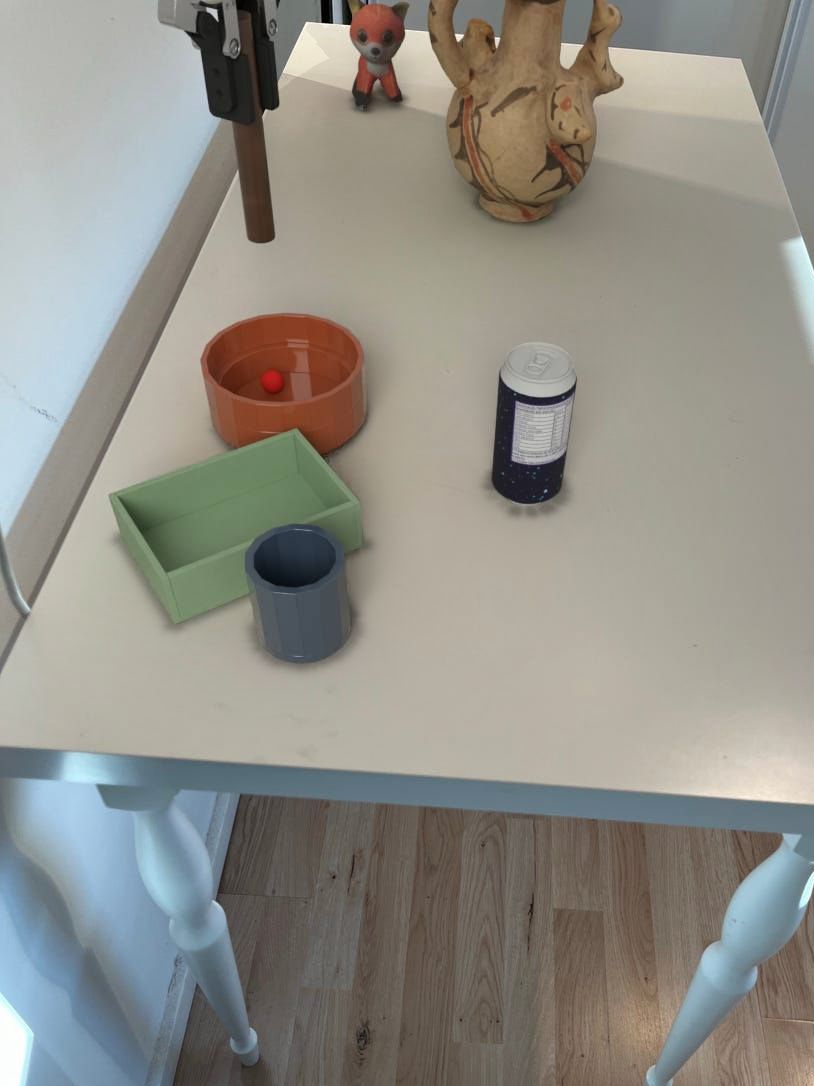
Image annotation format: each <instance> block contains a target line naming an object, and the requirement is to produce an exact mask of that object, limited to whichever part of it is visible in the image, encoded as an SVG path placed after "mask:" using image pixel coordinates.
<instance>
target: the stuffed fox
mask: <svg viewBox="0 0 814 1086" xmlns="http://www.w3.org/2000/svg"><path fill="white" fill-rule="evenodd" d="M347 3H348V6H349V9H350V12H351V15H352V20H351V23H350V27H349V38H350V39H349V40H350V41H351V44H352V45H353V46H354V48H355V49H356V50H357V52H358V53H359V54H360V55H359V58H358V61H357V73H356V75H355V78H354V81H353V84H352V88H351V94H352V96H353V98H354V100H355V101H354V102H355V106H356V108H357V109H359V110H361V111H362V112H366V111H367V108H366V106H367V104H368V102H369V101H370V99H371V97H372V96H373V95H372V94H373V90H374V85H375V83H376V82H377V81H379V83H380V85H381V87H382V90H383V92H384V93H385V94H386V96H387V98H388V99H389V100H390V102H392V103H403V102H404V101H403V100H404V98H403V94H402V90H401V88H400V86H399V84H398V80H397V76H396V71H395V68H394V63H393V58H394V57H395V56H396V54H397V53H398V51H399V50H400V48H401V47H402V44H403V43H404V41H405V38H406V29H405V23H404V22H405V18H406V16H407V14H408V10H409V8H410V3H408V2H405V1H400V2H398V3H396V4H394V5H392V6H389V5H386V4H383V3H370V4H366V3H364V2H363V1H362V0H347Z"/></svg>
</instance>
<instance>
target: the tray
mask: <svg viewBox="0 0 814 1086" xmlns="http://www.w3.org/2000/svg"><path fill="white" fill-rule="evenodd" d="M107 497H108V499H109V502H110V506H111V508H112V511H113V514H114V517H115V521H116V523H117V527H118V529H119V532H120V536H121V539H122V541H123V542H124V544H125V546H126V547H127V549H128V550H129V553H130V554H131V556H132V558H133V559H134V561H135V562H136V564H137V565H138V567H139V568H140V570H141V572H142V573H143V575H144V576H145V578H146V580H147V582H148V583H149V585H150V586H151V587H152V590H153V592H154V593H155V595H156V596H157V599H159V601H160V603H161V604H162V606H163V607H164V609H165V611H166V612H167V614H168V616H169V617H170V619H171V620H172V622H173V624H174V625H178V624H179V623H182V622H184V621H187V620H190V619H191V618H194V617H196V616H197V617H198V616H199V615H202V614H204V613H206V612H209V611H211V610H214V609H216V608H218V607H220V606H223V605H226V604H228V603H231V602H233V601H236V600H237V599H240V598H242V597H245V596H247V595H250V594H249V589H248V584H247V579H246V574H245V552H246V551H247V550H248V548H249V547H250V545H251V544H252V542H253V541H254V539H255V538H257V537H258V536H260V535H262V534H263V533H265V532H267V531H268V530H270V529H272V528H275V527H279V526H284V525H288V524H294V523H296V524H308V525H315V526H318V527H320V528H323V529H325V530H327V531H329V532H331V533H333V534H334V535H335V536H336V537H337V539H338V540H339V541H340V542H341V544H342V545H343V546H344V551H345V555H346V554H349V553H351V552H354V551H355V550H358V549H360V548H363V546H364V543H363V542H364V541H363V540H364V539H363V527H362V526H363V525H362V512H361V501H360V500H359V499H358V498H357V496H356V495H355V494H354V493H353V492H352V491H351V490H350V488H349V487H348V486H347V485H346V484H345V483H344V481H343V480H342V479H341V478H340V477H339V476H338V474H337V473H336V472H335V471H334V470H333V469H332V468H331V465H329V464H328V463H327V462H326V460H325V459H324V458H323V457H322V455H321V456H320V455H319V454H318V452H317V451H316V450H315V449H314V448H313V447H312V445H311V444H310V443H309V442H308V441H307V440H306V438H305V437H304V436H303V435H302V434H301V433H300V431H299V430H298V429H297V428H295V429H292V430H290V431H287V432H284V433H281V434H278V435H276V436H273V437H270V438H267V439H264V440H261V441H258V442H256V443H253V444H250V445H247V446H244V447H241V448H238V449H237V448H235V449H233V450H230V451H227V452H224V453H222V454H219V455H216V456H214V457H211V458H207V459H205V460H202V461H199V462H195V463H193V464H190V465H187V466H185V467H182V468H179V469H176V470H173V471H171V472H167V473H165V474H164V473H163V474H162V475H159V476H156V477H153V478H151V479H148V480H144V481H142V482H139V483H136V484H133V485H130V486H127V487H125V488H122V489H119V490H116V491H113V492H110V493H108V494H107Z"/></svg>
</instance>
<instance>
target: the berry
mask: <svg viewBox="0 0 814 1086" xmlns="http://www.w3.org/2000/svg"><path fill="white" fill-rule="evenodd" d="M261 386H262V388H263V389H264V390H265V391H266V392H268V393H272V394H274V393H278V392H280V391H281V390H282V388H283V386H284V378H283V376H282V374H281V373H280V372H278V371H277V370H267V371H265V372H264V373H263V374H262V376H261Z"/></svg>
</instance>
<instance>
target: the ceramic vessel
mask: <svg viewBox="0 0 814 1086" xmlns="http://www.w3.org/2000/svg"><path fill="white" fill-rule="evenodd" d="M458 3H459V0H429V4H428V7H427V9H428V10H427V29H428V36H429V41H430V46H431V49H432V51H433V53H434V55H435V57H436V59H437V61H438V63H439V65H440V68H441V69H442V71H443V72H444V74H445V75H446V77H447V78H448V80H449V81H450V82H451V85H453V87H454V88H455V90H454V91H453V94H452V96H451V98H450V102H449V106H448V108H447V112H446V118H445V119H446V120H445V132H446V138H447V143H448V148H449V153H450V157H451V159H452V162H453V166H454V168H455V169H456V170H457V172H458V173H459V175H460V176H461V178H462V179H464V181H466V183H467V184H469V185H471V186H472V187H474V188H475V189H477V190H478V193H479V199H478V202H479V204H480V206H481V208H482V209H483V210H484V211H486V212H487V213H488V214H490V215H492V216H493V217H494V218H497V219H500V220H502V221H505V222H511V223H520V224H521V223H531V222H535V221H537V220H540V219H541V218H544V217H547V216H548V215H549V214H551V213H552V212H553V211H554V210H555V206H556V200H560V199H562V198H564V197H566V196H568V195H569V194H570V193H572V191H574V190H575V189H576V188H577V187H578V186H579V185H580V183H582V181H583V179H584V178H585V176H586V174H587V172H588V170H589V168H590V166H591V163H592V161H593V157H594V152H595V150H596V149H595V148H596V145H597V135H598V125H597V116H596V113H595V109H594V101H595V100H596V98H598V97H600V96H603V95H607V94H609V93H611V92H614V91H616V90H618V89H620V88H621V87H623V85H624V83H625V79H624V77H623V76H622V75H621V74H620V73H618V72H617V71H616V70H615V68H614V67H613V64H612V62H611V59H610V53H609V45H610V43H611V41H612V39H613V36H614V35H615V33H616V32H617V31H618V30H619V29H620V27H621V26H622V22H623V16H622V12H621V9H620V8H619V7H618V6H617V5H615V4H613V3H608V2H607V1H606V0H592V4H593V6H592V11H591V17H590V22H589V26H588V29H587V30H588V31H587V36H586V40H585V42H584V44H583V46H581V48H580V49H579V51H578V53H577V55H576V58H575V60H574V62H573V63H572V64H571V66H570V67H569V68H566V67H564V66H563V65H562V64H561V50H562V40H563V39H562V37H563V21H564V13H565V7H566V3H567V0H504V9H503V12H502V13H503V14H502V20H501V28H500V29H501V30H500V37H499V41H498V44H497V45H496V37H495V32H494V29H493V26H492V25H491V24H490V23H489V22H488V21H487V20H485V19H482V18H479V17H474V18H472V19H470V20H468V22H467V26H466V30H465V32H464V34H463V36H462V37H461V38H460V40H459V41H458V40H457V37H456V33H455V27H454V13H455V10H456V7H457V5H458Z"/></svg>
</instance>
